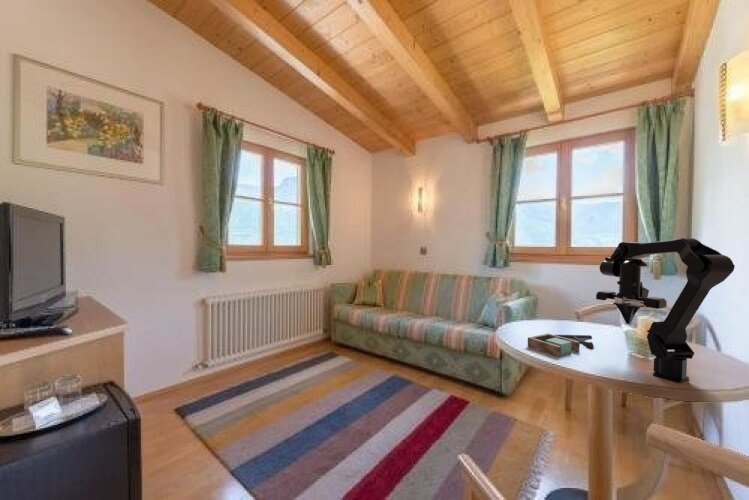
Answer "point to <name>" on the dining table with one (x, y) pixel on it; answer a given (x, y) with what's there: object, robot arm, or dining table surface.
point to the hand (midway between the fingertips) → (628, 324)
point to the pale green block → (561, 344)
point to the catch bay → (544, 346)
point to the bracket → (581, 340)
